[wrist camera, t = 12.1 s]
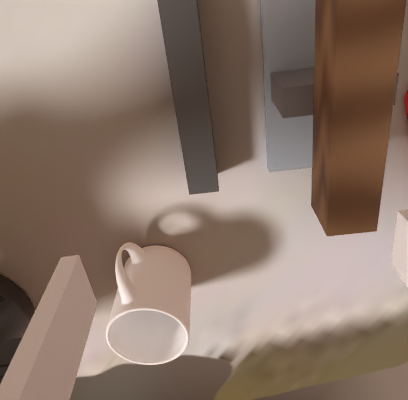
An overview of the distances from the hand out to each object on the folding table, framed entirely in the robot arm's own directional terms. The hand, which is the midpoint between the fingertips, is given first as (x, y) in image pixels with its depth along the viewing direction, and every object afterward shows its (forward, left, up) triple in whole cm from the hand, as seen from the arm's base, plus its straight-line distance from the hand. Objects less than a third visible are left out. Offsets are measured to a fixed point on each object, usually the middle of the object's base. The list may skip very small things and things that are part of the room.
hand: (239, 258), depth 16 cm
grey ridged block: (+10, +1, -25) cm, 26 cm away
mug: (-10, -19, -25) cm, 33 cm away
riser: (-2, +1, -25) cm, 25 cm away
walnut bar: (+10, +1, -18) cm, 20 cm away
